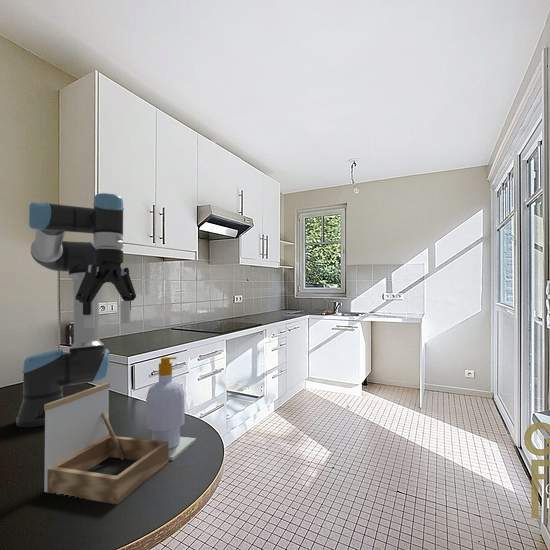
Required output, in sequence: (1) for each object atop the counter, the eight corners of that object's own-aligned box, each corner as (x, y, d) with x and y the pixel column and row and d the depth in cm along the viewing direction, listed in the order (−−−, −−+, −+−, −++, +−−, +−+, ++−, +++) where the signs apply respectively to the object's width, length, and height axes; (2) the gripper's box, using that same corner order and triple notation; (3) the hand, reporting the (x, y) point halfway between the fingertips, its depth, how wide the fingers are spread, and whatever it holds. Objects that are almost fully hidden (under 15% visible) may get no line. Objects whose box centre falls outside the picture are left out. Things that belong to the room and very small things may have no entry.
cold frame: (45, 492, 76) (46, 437, 77) (107, 454, 94) (107, 409, 94) (117, 504, 71) (117, 445, 72) (168, 461, 89) (168, 414, 89)
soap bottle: (181, 452, 92) (180, 360, 93) (141, 454, 91) (141, 362, 92) (188, 436, 102) (186, 353, 103) (152, 438, 102) (151, 355, 103)
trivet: (133, 455, 93) (133, 452, 93) (160, 437, 104) (160, 434, 104) (173, 460, 89) (173, 457, 89) (196, 441, 101) (195, 438, 101)
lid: (43, 492, 76) (44, 404, 77) (106, 453, 94) (106, 382, 95) (46, 492, 76) (47, 404, 77) (109, 453, 94) (109, 382, 95)
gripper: (84, 242, 85) (83, 330, 83) (147, 253, 108) (148, 321, 107) (59, 244, 87) (59, 330, 86) (127, 254, 111) (127, 321, 109)
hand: (108, 325), depth 96 cm, fingers open, 13 cm apart
